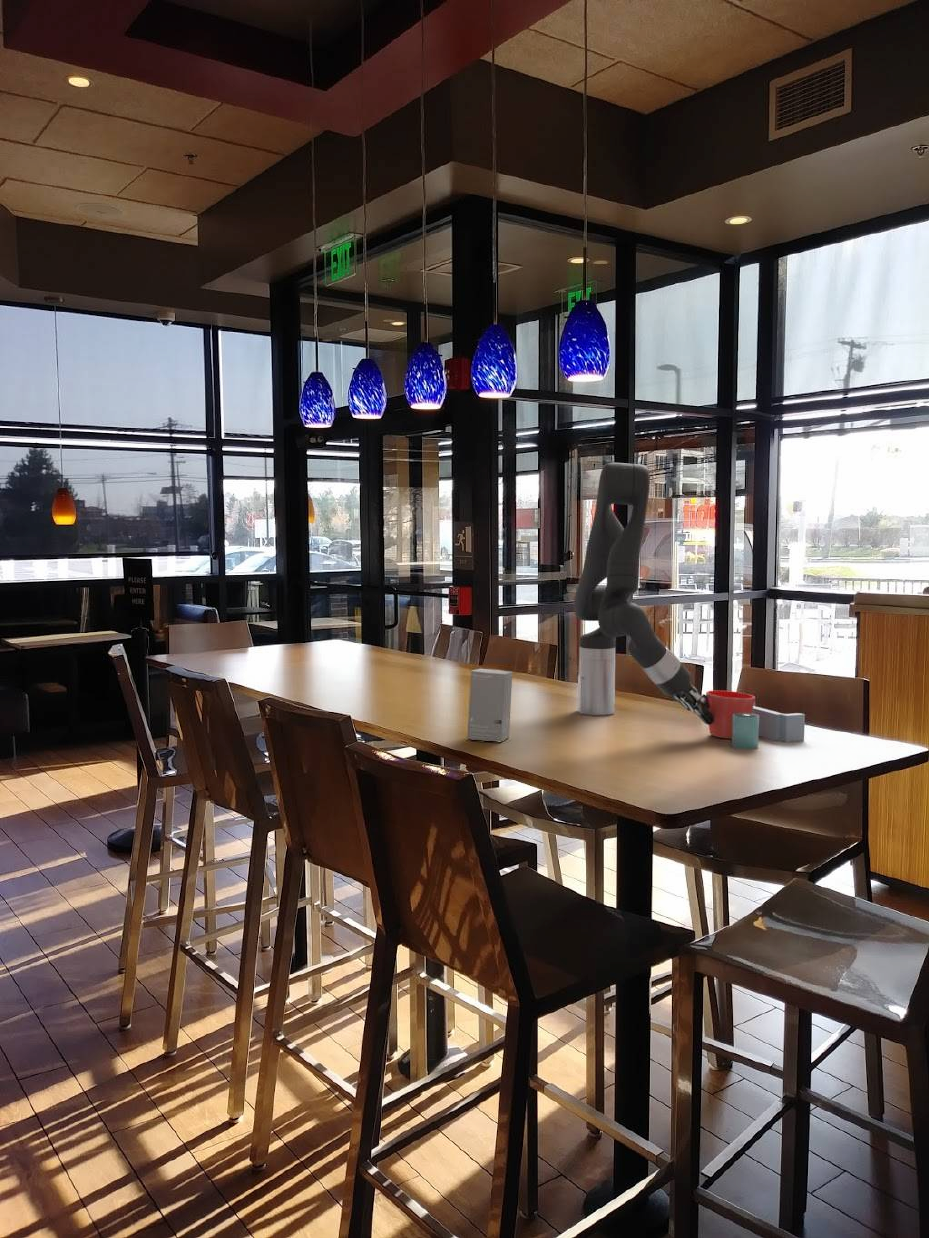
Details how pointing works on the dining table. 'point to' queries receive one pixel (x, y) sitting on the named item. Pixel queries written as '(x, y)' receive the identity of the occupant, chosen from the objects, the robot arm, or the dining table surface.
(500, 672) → the skincare box
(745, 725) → the tumbler
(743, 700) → the flower pot
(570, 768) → the dining table surface
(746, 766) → the dining table surface
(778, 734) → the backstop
